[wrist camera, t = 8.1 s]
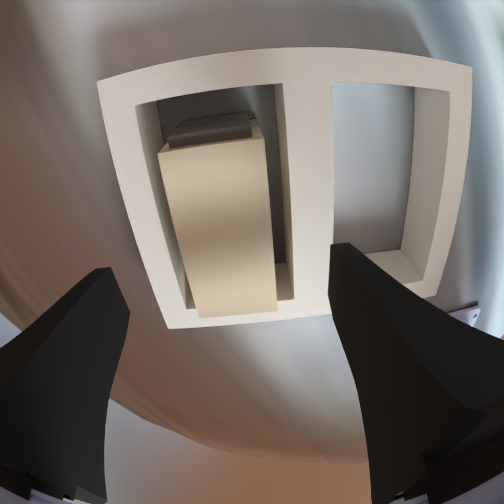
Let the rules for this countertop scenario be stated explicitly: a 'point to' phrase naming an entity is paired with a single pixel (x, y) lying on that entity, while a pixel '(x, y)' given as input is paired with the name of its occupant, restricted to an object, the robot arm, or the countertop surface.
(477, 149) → the countertop surface
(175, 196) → the beige boxy piece
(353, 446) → the countertop surface
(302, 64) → the white open frame
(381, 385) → the robot arm
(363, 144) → the countertop surface
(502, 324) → the countertop surface
